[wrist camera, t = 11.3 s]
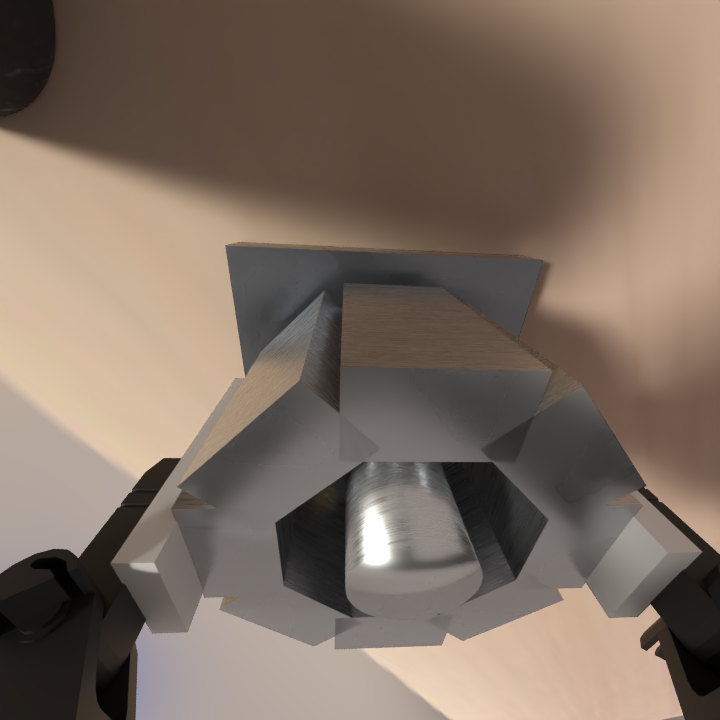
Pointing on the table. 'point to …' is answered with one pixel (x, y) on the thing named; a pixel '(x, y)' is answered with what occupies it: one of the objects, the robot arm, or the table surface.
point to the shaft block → (385, 479)
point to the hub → (401, 444)
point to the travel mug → (24, 51)
